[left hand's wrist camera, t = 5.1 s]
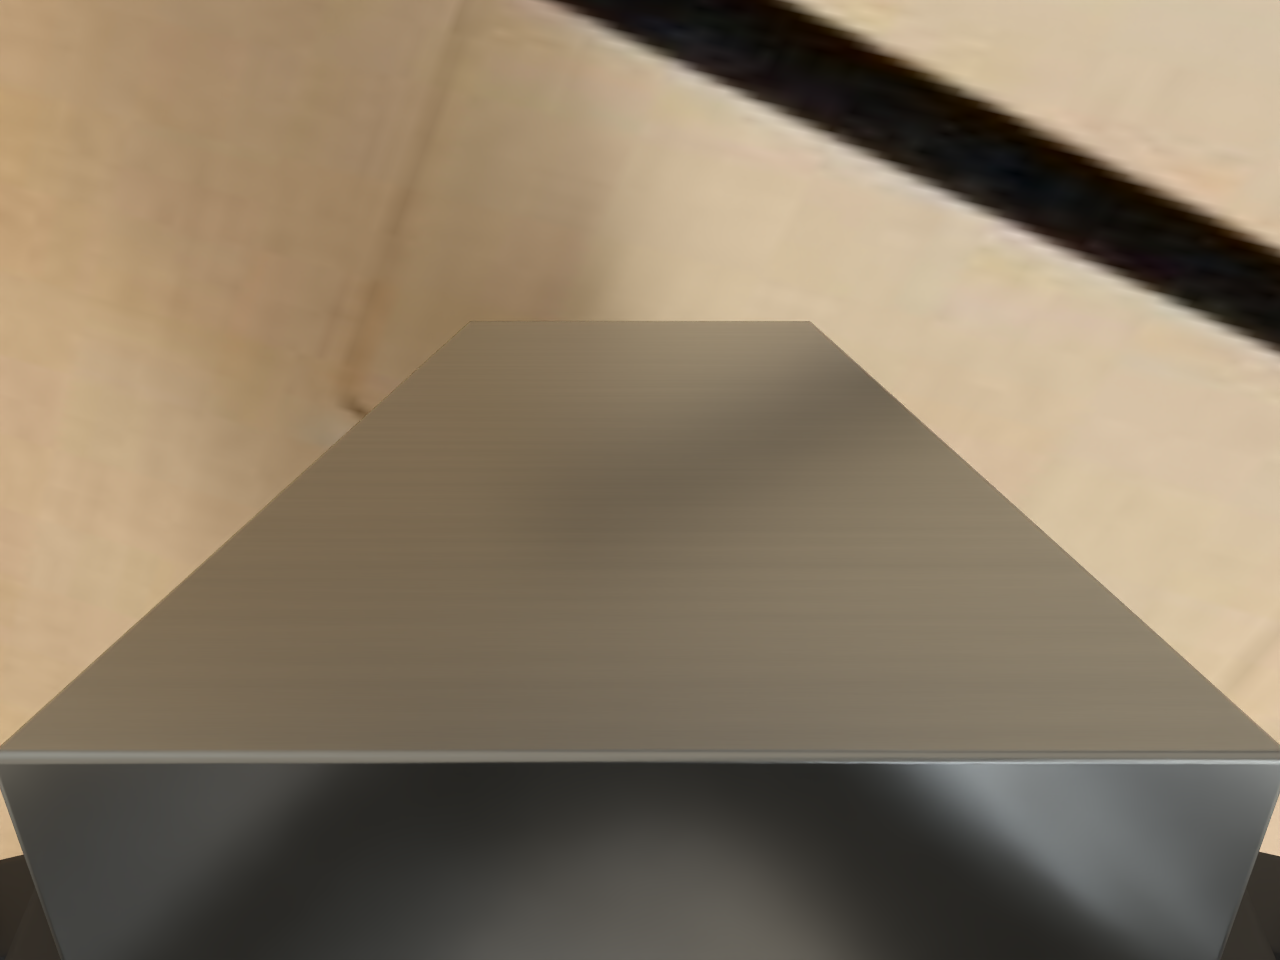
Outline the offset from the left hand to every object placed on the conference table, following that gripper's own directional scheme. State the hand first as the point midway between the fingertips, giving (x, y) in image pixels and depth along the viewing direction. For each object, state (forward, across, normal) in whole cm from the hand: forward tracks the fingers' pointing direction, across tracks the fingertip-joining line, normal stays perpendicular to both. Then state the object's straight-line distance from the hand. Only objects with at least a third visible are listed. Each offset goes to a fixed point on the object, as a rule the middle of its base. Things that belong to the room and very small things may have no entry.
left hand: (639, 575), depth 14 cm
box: (+3, 0, -7) cm, 8 cm away
